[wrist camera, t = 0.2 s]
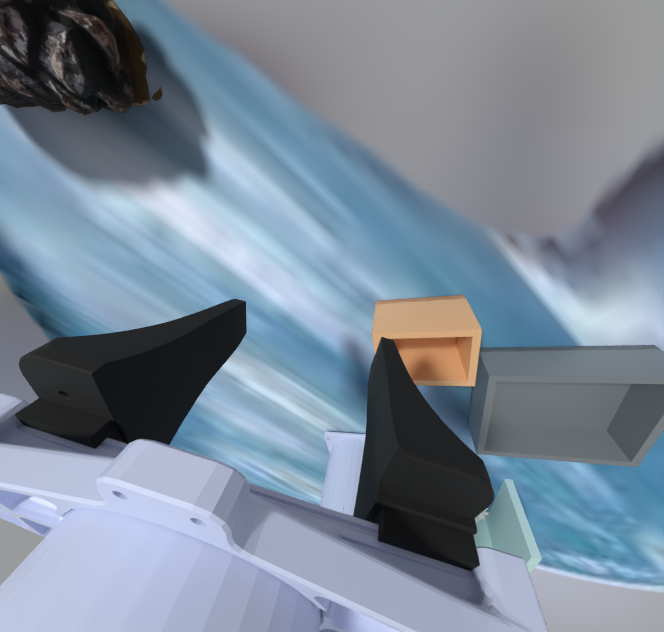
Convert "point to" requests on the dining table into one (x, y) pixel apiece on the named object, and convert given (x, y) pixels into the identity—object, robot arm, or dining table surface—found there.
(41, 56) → the pine cone
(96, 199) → the dining table surface
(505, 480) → the l-shaped corner panel
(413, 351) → the small crate
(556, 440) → the big crate
